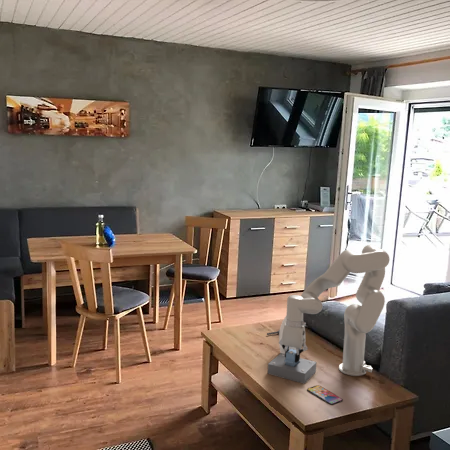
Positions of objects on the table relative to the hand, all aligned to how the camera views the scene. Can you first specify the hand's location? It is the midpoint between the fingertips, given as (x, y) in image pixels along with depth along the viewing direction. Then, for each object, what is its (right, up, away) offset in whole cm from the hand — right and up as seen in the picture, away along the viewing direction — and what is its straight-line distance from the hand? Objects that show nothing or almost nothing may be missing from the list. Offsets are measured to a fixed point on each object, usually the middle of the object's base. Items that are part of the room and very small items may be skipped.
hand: (292, 360), depth 237 cm
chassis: (0, -6, +1) cm, 6 cm away
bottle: (+1, -3, +21) cm, 21 cm away
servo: (0, -4, +1) cm, 4 cm away
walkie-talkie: (+2, +1, +46) cm, 46 cm away
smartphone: (+11, -10, -19) cm, 24 cm away
